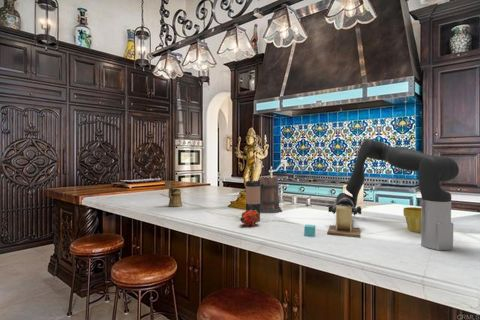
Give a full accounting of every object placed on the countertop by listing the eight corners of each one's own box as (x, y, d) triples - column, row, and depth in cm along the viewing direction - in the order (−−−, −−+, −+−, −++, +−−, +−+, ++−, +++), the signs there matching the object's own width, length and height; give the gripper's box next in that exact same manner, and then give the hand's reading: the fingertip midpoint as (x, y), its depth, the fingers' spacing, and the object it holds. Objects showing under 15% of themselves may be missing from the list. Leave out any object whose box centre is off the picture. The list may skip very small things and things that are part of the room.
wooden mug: (160, 207, 192) (160, 179, 191) (174, 204, 204) (174, 178, 203) (171, 208, 188) (171, 180, 187) (185, 205, 199) (185, 178, 199)
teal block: (305, 233, 129) (305, 224, 129) (315, 234, 128) (315, 225, 128) (304, 236, 126) (304, 226, 126) (314, 236, 124) (314, 227, 124)
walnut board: (329, 227, 140) (329, 225, 140) (359, 230, 135) (359, 227, 135) (327, 234, 128) (327, 232, 128) (360, 237, 123) (360, 235, 123)
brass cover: (337, 227, 135) (337, 205, 135) (351, 229, 133) (351, 206, 133) (336, 231, 130) (336, 207, 129) (351, 232, 127) (351, 208, 127)
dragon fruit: (260, 226, 148) (243, 234, 139) (249, 214, 152) (232, 222, 144) (267, 214, 143) (249, 222, 135) (255, 202, 148) (238, 209, 139)
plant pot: (398, 229, 137) (398, 207, 137) (413, 227, 141) (413, 206, 141) (419, 234, 128) (419, 211, 127) (435, 232, 132) (435, 210, 131)
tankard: (263, 207, 194) (263, 176, 193) (287, 209, 184) (287, 177, 184) (243, 213, 174) (243, 178, 174) (269, 216, 165) (269, 180, 165)
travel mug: (263, 219, 157) (263, 181, 157) (253, 221, 151) (253, 182, 151) (252, 217, 162) (252, 180, 162) (242, 219, 157) (242, 181, 156)
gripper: (330, 197, 150) (327, 202, 135) (361, 199, 145) (361, 204, 130) (330, 212, 151) (327, 219, 135) (361, 214, 145) (361, 221, 130)
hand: (344, 212), depth 133 cm, fingers open, 8 cm apart
